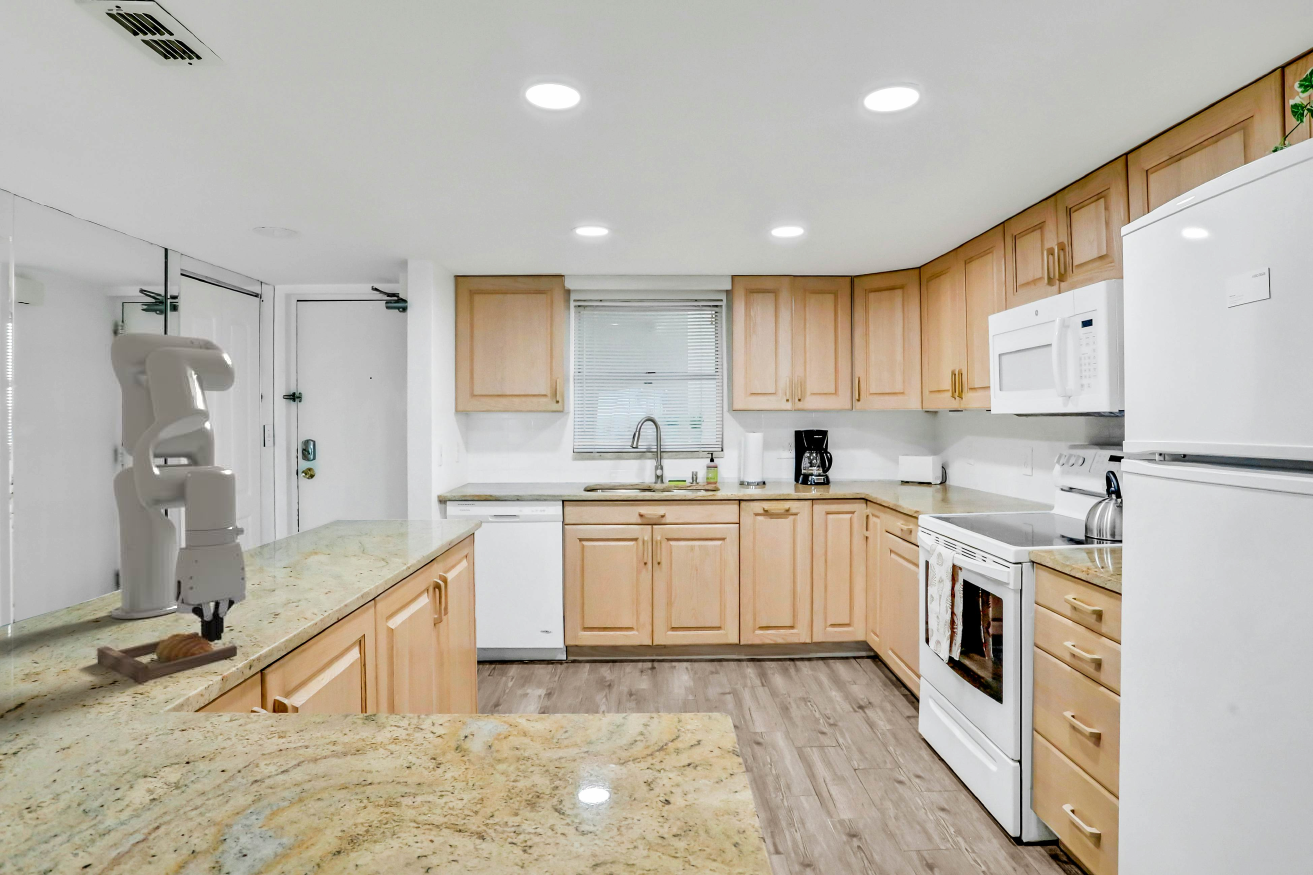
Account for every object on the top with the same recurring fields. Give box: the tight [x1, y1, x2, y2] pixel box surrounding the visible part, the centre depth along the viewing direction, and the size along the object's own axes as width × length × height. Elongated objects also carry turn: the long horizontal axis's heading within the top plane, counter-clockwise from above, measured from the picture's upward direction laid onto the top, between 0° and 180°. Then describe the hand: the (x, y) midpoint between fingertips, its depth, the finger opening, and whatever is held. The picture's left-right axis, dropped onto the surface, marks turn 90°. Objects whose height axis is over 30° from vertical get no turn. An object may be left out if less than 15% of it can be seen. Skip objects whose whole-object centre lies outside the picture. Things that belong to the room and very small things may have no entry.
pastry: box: [154, 633, 214, 664], centre depth 110 cm, size 9×7×4 cm
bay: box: [96, 631, 238, 685], centre depth 109 cm, size 17×14×2 cm
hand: (212, 639), depth 115 cm, fingers closed
